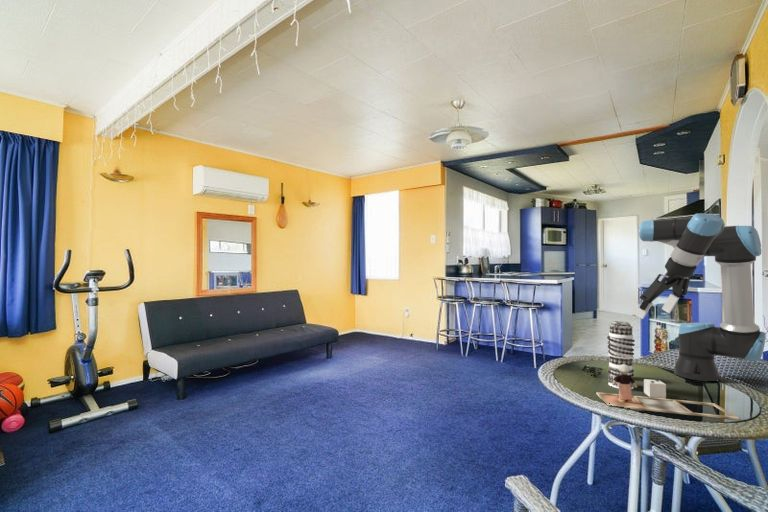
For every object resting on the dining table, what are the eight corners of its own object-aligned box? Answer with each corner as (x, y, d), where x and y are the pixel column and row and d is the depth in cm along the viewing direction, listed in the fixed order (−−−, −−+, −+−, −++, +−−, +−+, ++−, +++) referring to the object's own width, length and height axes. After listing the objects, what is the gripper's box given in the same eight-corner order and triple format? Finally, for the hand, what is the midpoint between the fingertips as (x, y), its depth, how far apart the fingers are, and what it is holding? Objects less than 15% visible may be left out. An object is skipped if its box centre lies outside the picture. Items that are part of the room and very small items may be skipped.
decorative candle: (611, 388, 141) (611, 323, 141) (604, 381, 150) (604, 319, 150) (638, 391, 138) (638, 324, 139) (629, 383, 147) (629, 321, 148)
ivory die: (659, 393, 136) (659, 378, 136) (666, 398, 131) (665, 382, 131) (643, 392, 137) (643, 377, 137) (649, 397, 132) (649, 381, 132)
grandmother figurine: (631, 399, 129) (631, 363, 129) (638, 403, 125) (638, 366, 125) (609, 399, 129) (609, 362, 129) (616, 403, 125) (616, 365, 125)
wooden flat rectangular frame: (714, 405, 125) (714, 403, 125) (739, 420, 113) (739, 418, 113) (596, 393, 135) (596, 392, 135) (607, 406, 122) (607, 404, 122)
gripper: (669, 271, 110) (637, 325, 121) (719, 263, 119) (686, 315, 129) (646, 258, 116) (618, 311, 127) (696, 252, 125) (666, 302, 135)
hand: (652, 313), depth 128 cm, fingers open, 13 cm apart
